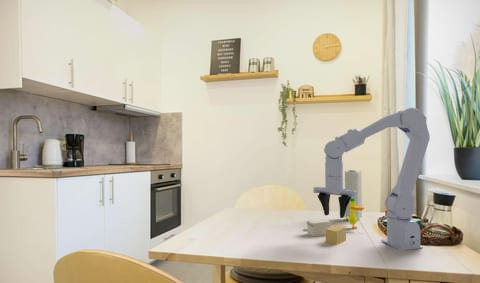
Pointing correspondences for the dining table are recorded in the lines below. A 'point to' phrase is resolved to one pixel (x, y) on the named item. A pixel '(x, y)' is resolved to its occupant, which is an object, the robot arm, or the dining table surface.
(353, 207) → the toy figure
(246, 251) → the dining table surface
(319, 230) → the cream brick
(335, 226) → the ochre brick
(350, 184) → the paper towel roll
